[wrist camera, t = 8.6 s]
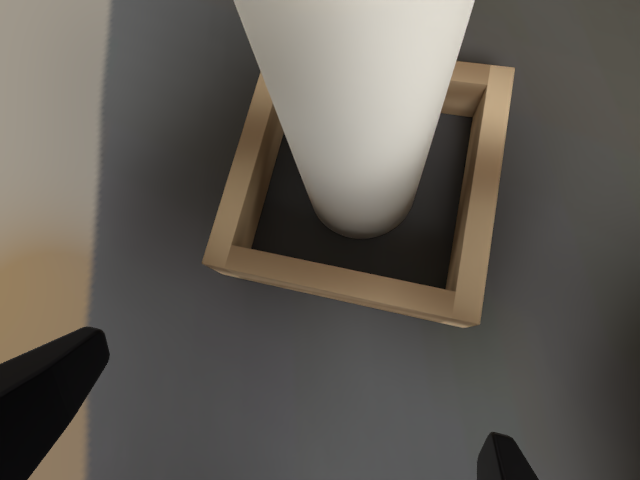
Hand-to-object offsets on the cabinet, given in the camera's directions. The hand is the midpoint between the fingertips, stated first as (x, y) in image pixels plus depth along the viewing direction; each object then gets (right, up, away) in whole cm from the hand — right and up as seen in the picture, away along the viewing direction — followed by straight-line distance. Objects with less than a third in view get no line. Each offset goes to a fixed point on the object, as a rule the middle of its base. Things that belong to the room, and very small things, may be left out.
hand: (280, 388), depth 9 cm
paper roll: (+3, +6, +10) cm, 12 cm away
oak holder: (+3, +6, +10) cm, 12 cm away
